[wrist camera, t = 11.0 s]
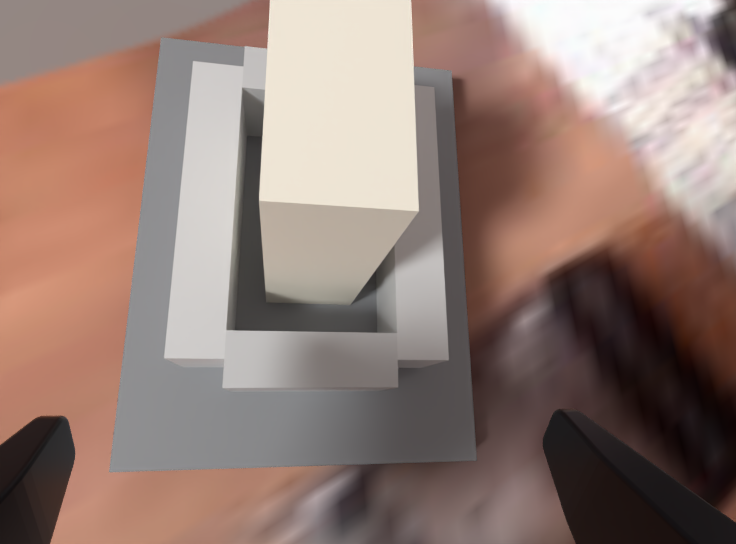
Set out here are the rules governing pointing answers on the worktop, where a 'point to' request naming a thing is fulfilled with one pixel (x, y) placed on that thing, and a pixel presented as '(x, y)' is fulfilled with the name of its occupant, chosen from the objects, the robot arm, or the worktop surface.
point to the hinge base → (283, 320)
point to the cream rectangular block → (335, 145)
